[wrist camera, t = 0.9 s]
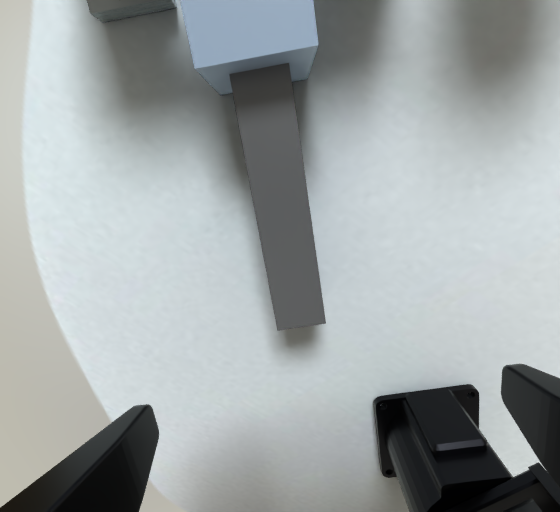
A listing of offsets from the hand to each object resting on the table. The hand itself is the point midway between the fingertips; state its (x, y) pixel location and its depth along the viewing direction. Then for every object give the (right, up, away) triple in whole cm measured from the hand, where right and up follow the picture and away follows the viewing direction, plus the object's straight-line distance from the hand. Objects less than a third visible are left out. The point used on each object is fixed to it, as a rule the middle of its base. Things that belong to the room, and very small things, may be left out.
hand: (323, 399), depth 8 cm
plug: (-1, +9, +9) cm, 13 cm away
